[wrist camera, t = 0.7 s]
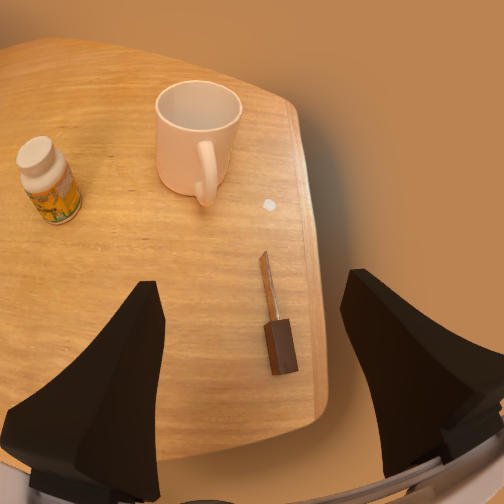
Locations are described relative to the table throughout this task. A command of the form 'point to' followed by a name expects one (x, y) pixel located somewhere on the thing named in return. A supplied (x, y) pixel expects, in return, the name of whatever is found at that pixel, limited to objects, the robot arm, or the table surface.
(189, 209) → the table surface
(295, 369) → the knife
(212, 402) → the table surface
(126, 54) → the table surface
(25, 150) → the supplement bottle
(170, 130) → the mug
